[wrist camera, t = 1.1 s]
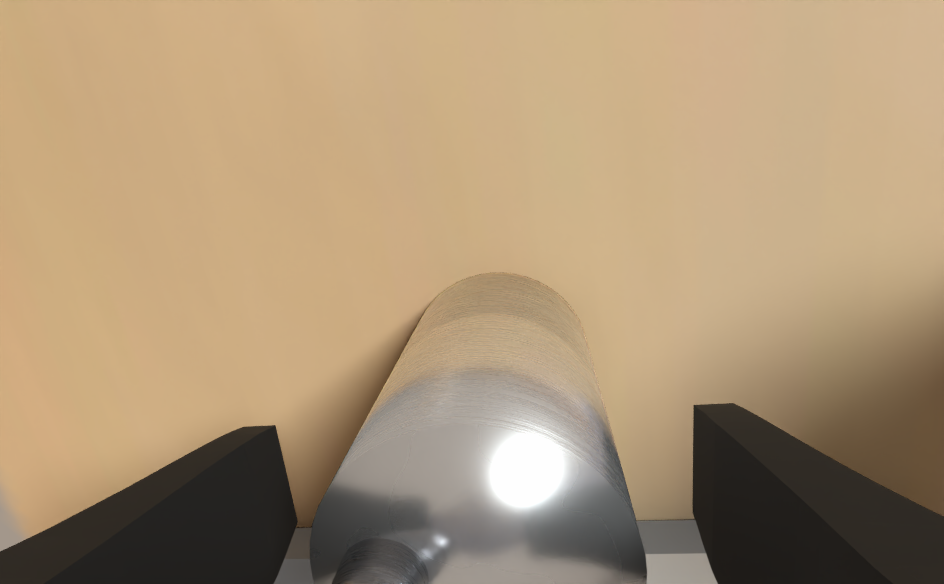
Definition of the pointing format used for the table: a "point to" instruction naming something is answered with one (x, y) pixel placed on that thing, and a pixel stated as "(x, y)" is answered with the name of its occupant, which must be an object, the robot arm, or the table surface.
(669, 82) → the table surface
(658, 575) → the grey framed base plate
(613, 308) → the table surface
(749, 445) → the robot arm
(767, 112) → the table surface
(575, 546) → the spout can
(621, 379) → the table surface
